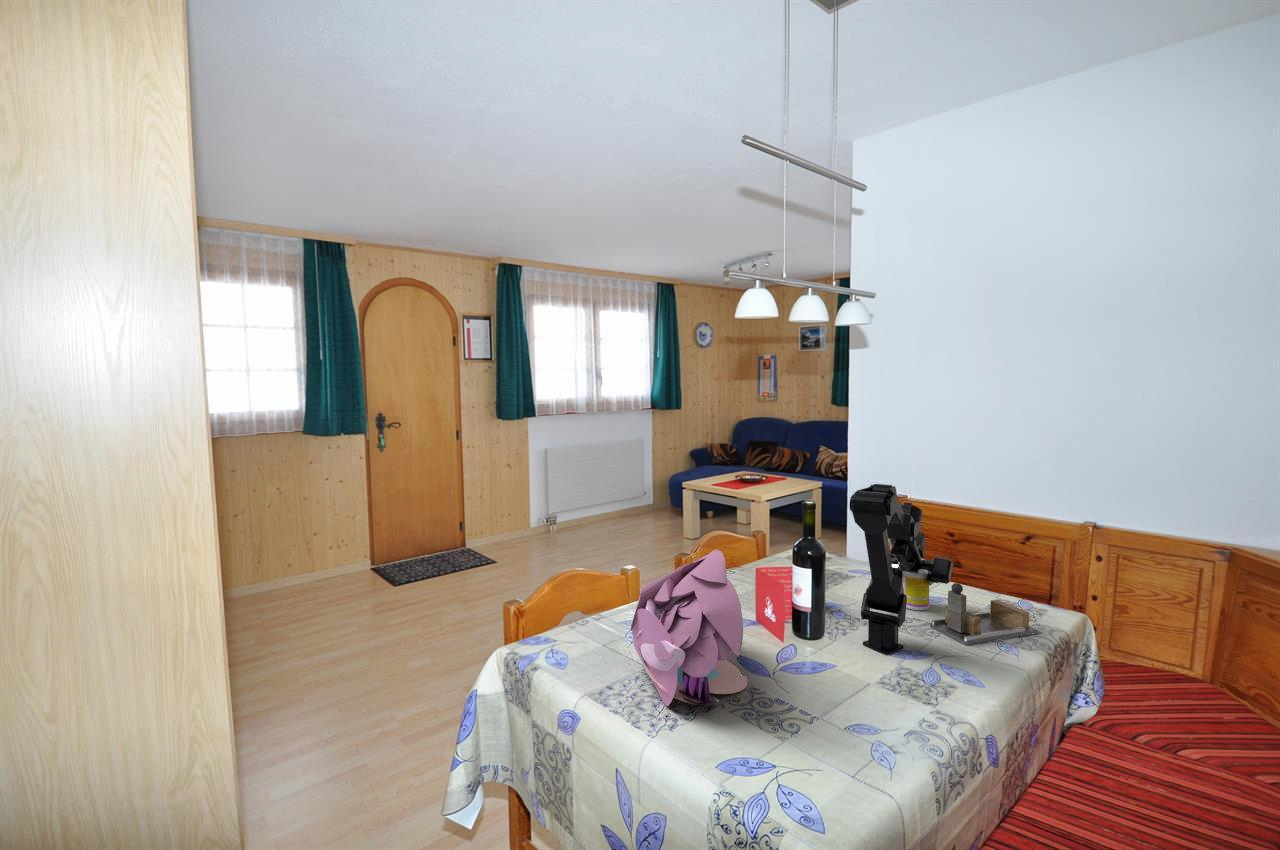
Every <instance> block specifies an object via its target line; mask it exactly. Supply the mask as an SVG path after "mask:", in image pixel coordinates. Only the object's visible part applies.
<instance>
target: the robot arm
mask: <svg viewBox="0 0 1280 850" xmlns="http://www.w3.org/2000/svg"><path fill="white" fill-rule="evenodd" d="M849 510H850V512H851V514H852V517H853V521H854V523H855V524H856V525H857V526H858V527H859V528H860V529H861V530H862V531H863V533H864V538H865V545H866V551H867V557H868V565H869V569H870V570H869V571H870V577H871V578H870V580H869V583H868V586H867V587H866V589H865V592H864V593H863V597H862V602H861V606H860V607H861V608H860V617H861V620H867V621H868V624H867V625H868V627H867V632H868V635H867V637H868V639H867V640H864V641H863V642H862V645H863V646H865V647H868V648H870V649H872V650H874V651H877V652H879V653H881V654H883V655H889V654H892V653H895V652H897V651H899V650H902V649H905V645H903V644H902V643H899V628H901V627H902V626H903V625H904V623H905V621H906V614H907V608H906V605H907V596H906V595H905V594H904V588H903V581H902V571H905V572H911V573H917V574H918V572H919V570H920V569H923V570H927V571H928V576H927V582H928V584H929V586H932V585H933V584H938V583H941V584H949V583H950V581H951V577H952V571H953V567H954V563H953V560H951V558H948V557H940V556H935V557H934V558H931V559H930V560H926V559H925V550H924V549H925V547H926V545H927V542H926V534H925V533H924V532H923V531H920V530H921V528H922V527H921V526H922V519H923V513H924V511H923V510H922V509H921V508H920V507H919V506H916V505H914V504H913V503H912V502H904V503H903V504H902V505H901V503H900V501H899V498H898V495H897V487H896V486H893V484H883V483H881V484H880V483H874V484H870V485H869V486H868V487H865V488H861V489H857V490H856V491H854V493H853V494H852V495H851V496H850V499H849ZM890 545H891V549H890ZM922 559H924V560H922ZM874 610H877V611H874ZM879 611H881V612H879ZM885 612H886V613H885ZM888 613H891V614H888ZM893 614H896V615H893Z"/></svg>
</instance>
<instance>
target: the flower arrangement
mask: <svg viewBox="0 0 1280 850" xmlns="http://www.w3.org/2000/svg"><path fill="white" fill-rule="evenodd" d="M726 567H727V565H726V558H725V556H724V553H723V552H722V551H721V550H720V549H714V550H712V551H711V552H709V553H708V554H706V555H704V556H702V557H701V558H699V559H697V560H694V561H693V562H689V563H686V564H683V565H681V566H680V567H677V568H676V569H674V570H672V571H670V572H668V573H667V574H665V575H663V576H661V577H659V578H658V579H656V580H655V581H652V582H650V583H649V584H647V585H645V586H643V587H641V590H640V593H639V597H638V600H637V604H636V606H635V611H634V615H633V618H632V622H631V625H630V631H631V634H632V641H633V642H632V644H633V646H634V649H635V651H636V653H637V655H638V657H639V659H640V661H641V663H642V665H643V666H644V669H645V672H646V673H647V675H648V676H649V678H650V680H651V681H652V683H653V685H654V687H655V689H656V691H657V692H658V695H659V696H660V699H661V700H662V702H663V704H664V706H665V705H666V706H667V707H669V706H670V704H671V703H672V701H673V699H677V700H679V701H682V702H685V703H688V704H693V705H699V706H713V705H715V704H717V703H718V702H719V701H720V699H719V698H716V696H715V695H714V694H716V695H729V694H735V693H739V692H742V691H743V690H745V689H746V687H747V686H748V677H747V675H743V676H741V675H742V674H743V673H742V672H741V670H739V668H738V667H737V666H736V665H735V664H733V663H731V662H730V661H728V659H729V658H730V656H731V655H732V652H734V654H735V655H736V656H737V657H739V655H740V653H741V650H742V646H743V638H744V622H743V612H742V606H741V601H740V599H739V594H738V593H737V590H736V588H735V586H734V585H733V583H732V582H731V581H730V579H729V578H728V577H727V568H726ZM741 673H742V674H741ZM666 706H665V707H666Z"/></svg>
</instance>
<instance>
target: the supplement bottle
mask: <svg viewBox="0 0 1280 850" xmlns="http://www.w3.org/2000/svg"><path fill="white" fill-rule="evenodd" d="M922 560H925V558H922ZM927 576H928V570H923V569H920V570H919V572H918V574H917V573H911V572H905V571H902V581H903V588H904V594H905V595H906V596H907V605H906V609H908V610H912V611H926V610H928V609H929V608H930V585H929V584H928V582H927Z"/></svg>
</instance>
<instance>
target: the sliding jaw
mask: <svg viewBox="0 0 1280 850" xmlns="http://www.w3.org/2000/svg"><path fill="white" fill-rule="evenodd" d="M950 587H951V590H947V605H945V609H944V611H945V612H944V613H945V614H944V615H945V616H944V618H945V622H946V623H947V626H948V627H950V628H952V629H954V630H956V631H958V632H960V633H963V632H967V633H969V634H971V635H975V634H981V618H980V617H978V616H976V615H973V614H974V613H971V612H968V611H967V595H966V594H964V593H962V592H963V591H964V587H963V585H962V584H960V583H957V582H956V583H953V584H952V585H951V586H950Z"/></svg>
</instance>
